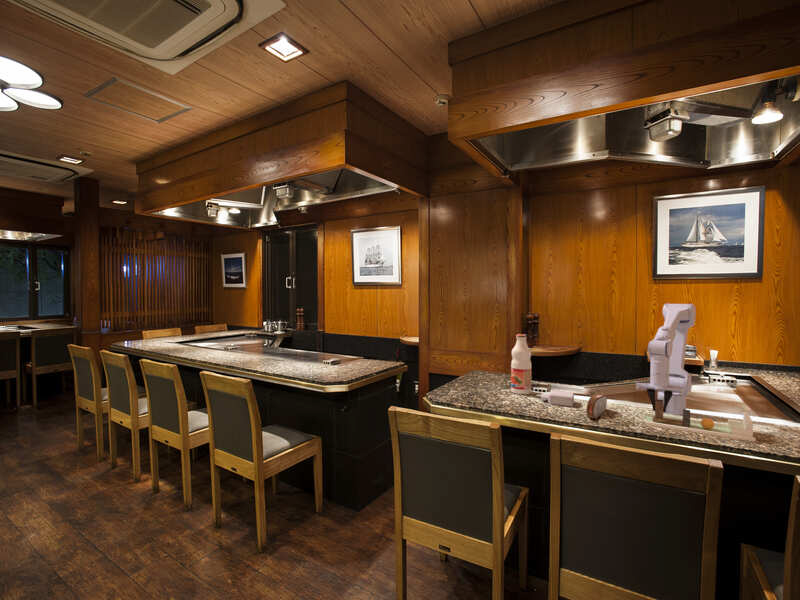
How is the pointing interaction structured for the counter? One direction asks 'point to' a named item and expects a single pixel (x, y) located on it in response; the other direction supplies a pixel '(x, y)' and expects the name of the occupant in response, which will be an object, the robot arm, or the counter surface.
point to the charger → (559, 397)
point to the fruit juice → (521, 366)
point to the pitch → (730, 430)
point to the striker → (659, 418)
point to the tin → (596, 406)
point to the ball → (707, 423)
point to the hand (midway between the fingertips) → (659, 411)
